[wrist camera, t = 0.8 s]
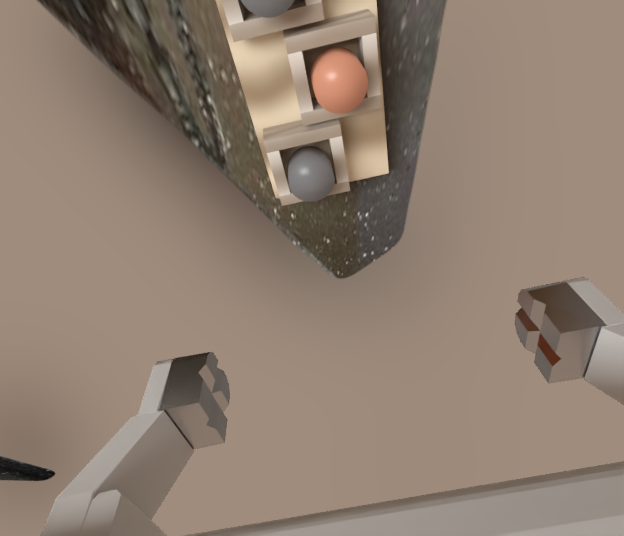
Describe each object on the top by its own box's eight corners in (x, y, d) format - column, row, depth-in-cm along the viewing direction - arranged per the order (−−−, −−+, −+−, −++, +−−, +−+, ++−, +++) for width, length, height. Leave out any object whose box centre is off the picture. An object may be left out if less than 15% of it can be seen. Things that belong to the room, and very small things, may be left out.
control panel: (194, -92, 32) (181, -91, 26) (356, -136, 31) (375, -143, 26) (274, 180, 48) (276, 213, 43) (380, 156, 48) (395, 187, 43)
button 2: (282, 151, 39) (283, 166, 37) (326, 141, 39) (330, 156, 36) (292, 190, 42) (294, 205, 40) (333, 180, 42) (338, 196, 39)
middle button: (305, 53, 33) (309, 64, 31) (358, 40, 33) (365, 50, 31) (315, 105, 36) (319, 118, 34) (363, 94, 36) (370, 106, 34)
